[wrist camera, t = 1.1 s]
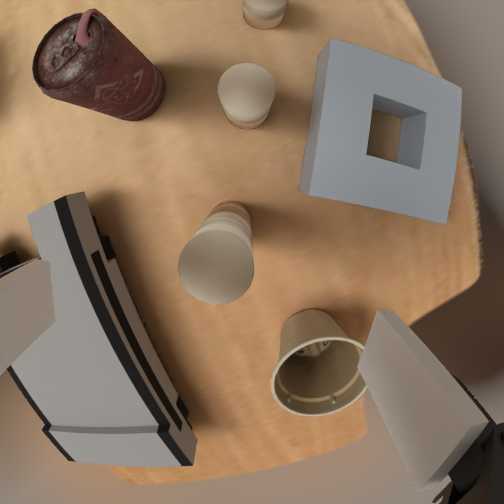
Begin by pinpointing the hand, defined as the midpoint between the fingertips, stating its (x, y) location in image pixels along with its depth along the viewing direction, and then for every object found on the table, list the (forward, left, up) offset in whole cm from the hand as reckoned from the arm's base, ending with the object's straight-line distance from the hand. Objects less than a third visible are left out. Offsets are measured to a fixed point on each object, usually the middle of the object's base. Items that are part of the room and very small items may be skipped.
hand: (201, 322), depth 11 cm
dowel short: (-22, 0, -19) cm, 29 cm away
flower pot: (+11, +10, -20) cm, 24 cm away
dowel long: (0, 0, -19) cm, 19 cm away
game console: (+17, -17, -20) cm, 31 cm away
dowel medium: (-11, 0, -19) cm, 22 cm away
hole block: (-11, +13, -19) cm, 26 cm away
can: (-12, -11, -20) cm, 26 cm away
